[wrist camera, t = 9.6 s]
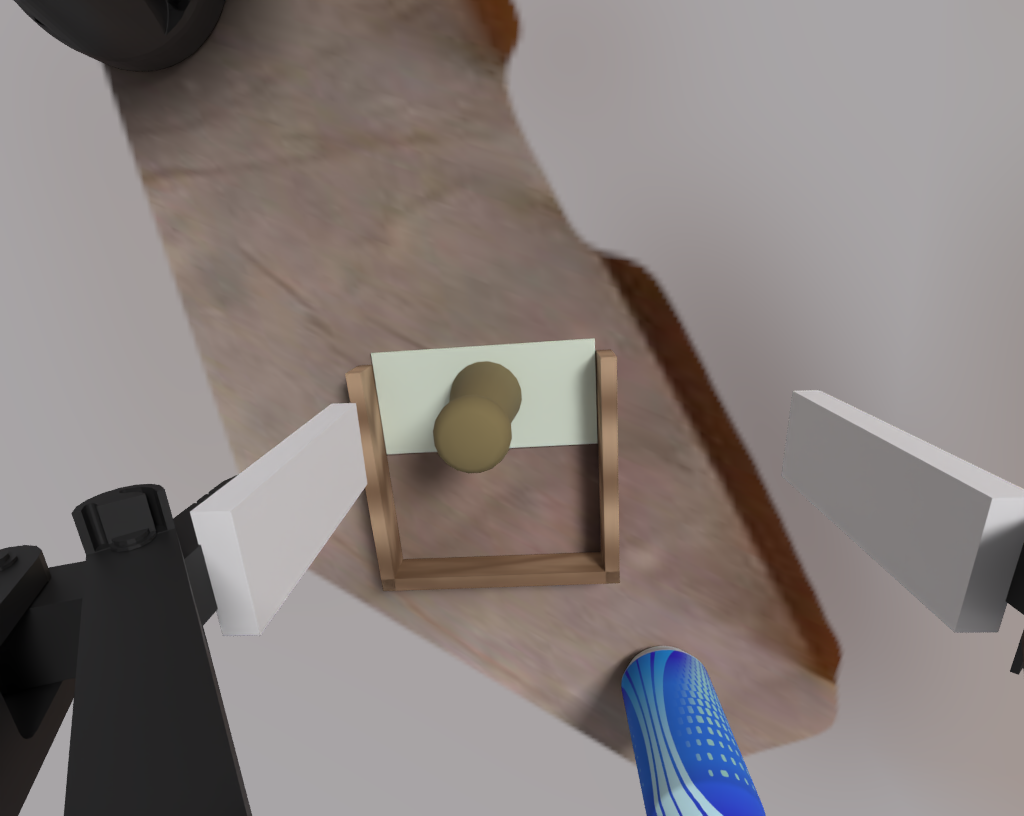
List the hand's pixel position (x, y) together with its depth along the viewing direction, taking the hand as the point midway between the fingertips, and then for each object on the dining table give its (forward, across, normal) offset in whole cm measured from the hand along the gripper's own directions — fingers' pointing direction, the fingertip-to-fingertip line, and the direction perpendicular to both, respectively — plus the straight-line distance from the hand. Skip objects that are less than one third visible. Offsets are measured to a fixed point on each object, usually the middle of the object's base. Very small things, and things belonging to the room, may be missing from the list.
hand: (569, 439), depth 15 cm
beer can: (+26, +11, -35) cm, 45 cm away
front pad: (+26, -5, -6) cm, 27 cm away
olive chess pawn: (+26, -5, -6) cm, 27 cm away
